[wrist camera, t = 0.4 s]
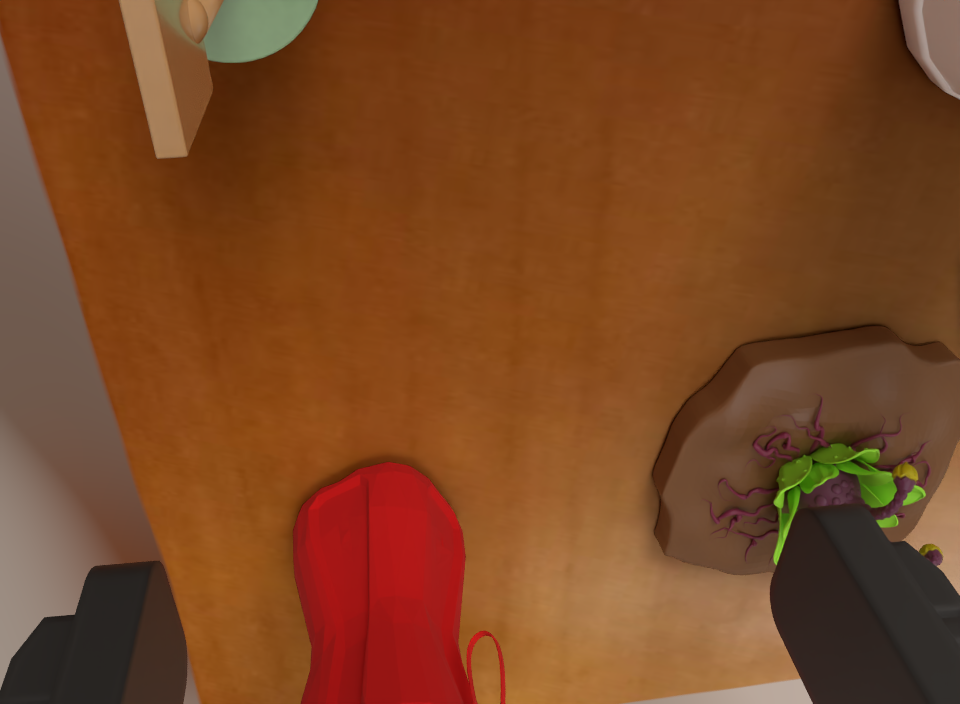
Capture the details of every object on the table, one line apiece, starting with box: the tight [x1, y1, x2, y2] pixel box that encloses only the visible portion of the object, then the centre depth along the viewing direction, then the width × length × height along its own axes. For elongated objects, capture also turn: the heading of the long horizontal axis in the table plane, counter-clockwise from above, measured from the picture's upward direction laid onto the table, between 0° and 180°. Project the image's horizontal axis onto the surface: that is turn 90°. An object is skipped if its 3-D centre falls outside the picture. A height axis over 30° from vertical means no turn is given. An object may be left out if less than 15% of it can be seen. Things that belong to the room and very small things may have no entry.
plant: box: [653, 326, 960, 575], centre depth 52 cm, size 20×20×11 cm
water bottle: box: [293, 462, 505, 704], centre depth 44 cm, size 9×11×25 cm
